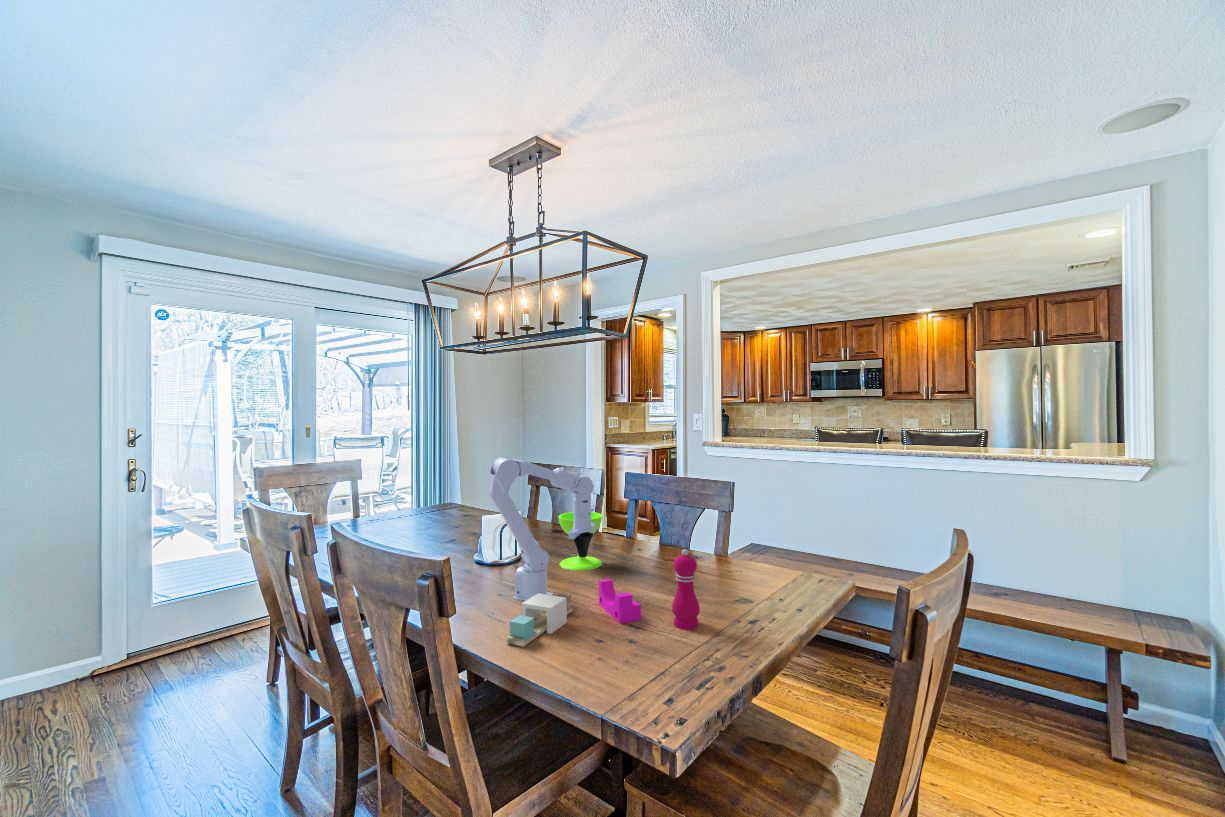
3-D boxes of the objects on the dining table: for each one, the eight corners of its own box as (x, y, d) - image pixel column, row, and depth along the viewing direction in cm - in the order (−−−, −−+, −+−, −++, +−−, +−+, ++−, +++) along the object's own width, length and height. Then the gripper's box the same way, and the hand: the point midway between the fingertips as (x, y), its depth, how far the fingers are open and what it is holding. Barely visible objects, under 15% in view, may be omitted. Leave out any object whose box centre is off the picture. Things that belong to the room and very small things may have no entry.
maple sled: (506, 643, 128) (506, 623, 128) (557, 608, 150) (557, 591, 150) (523, 646, 126) (523, 626, 126) (572, 611, 148) (572, 594, 148)
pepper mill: (682, 633, 133) (681, 554, 133) (666, 623, 140) (665, 547, 140) (705, 627, 137) (704, 550, 137) (689, 618, 143) (688, 544, 143)
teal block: (510, 638, 129) (509, 621, 129) (520, 631, 132) (519, 615, 132) (524, 641, 127) (524, 624, 127) (534, 634, 131) (533, 617, 131)
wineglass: (602, 571, 185) (601, 520, 185) (556, 571, 186) (555, 520, 186) (603, 558, 201) (602, 511, 201) (561, 558, 202) (560, 511, 202)
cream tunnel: (521, 629, 137) (521, 603, 137) (538, 618, 144) (538, 593, 144) (550, 635, 133) (550, 608, 133) (566, 623, 141) (566, 597, 141)
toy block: (640, 621, 142) (640, 593, 142) (619, 625, 139) (619, 597, 139) (618, 602, 156) (618, 577, 156) (598, 606, 153) (598, 580, 153)
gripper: (582, 519, 159) (583, 564, 159) (603, 510, 172) (604, 552, 172) (562, 517, 162) (562, 561, 162) (584, 508, 175) (585, 549, 175)
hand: (582, 556), depth 167 cm, fingers closed
